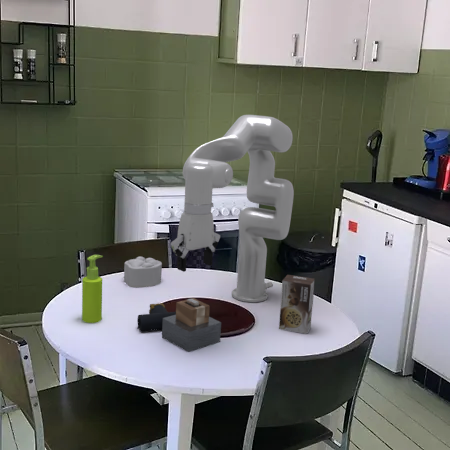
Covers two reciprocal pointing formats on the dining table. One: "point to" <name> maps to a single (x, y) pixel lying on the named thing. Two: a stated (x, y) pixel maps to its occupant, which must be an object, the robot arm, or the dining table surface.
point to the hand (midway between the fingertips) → (194, 267)
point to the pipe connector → (153, 318)
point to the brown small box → (192, 313)
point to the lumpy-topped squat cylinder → (142, 272)
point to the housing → (191, 331)
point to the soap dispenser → (92, 293)
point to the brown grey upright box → (296, 303)
